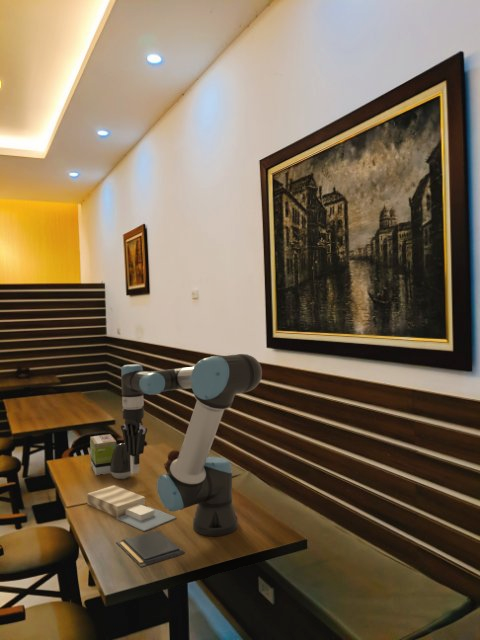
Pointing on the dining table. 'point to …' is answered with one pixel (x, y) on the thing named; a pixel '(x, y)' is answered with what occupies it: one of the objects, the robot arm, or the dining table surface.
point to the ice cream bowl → (171, 459)
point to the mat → (147, 520)
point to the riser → (114, 500)
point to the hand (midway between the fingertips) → (135, 472)
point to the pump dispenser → (120, 462)
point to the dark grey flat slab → (150, 548)
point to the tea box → (102, 453)
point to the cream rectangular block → (139, 512)
